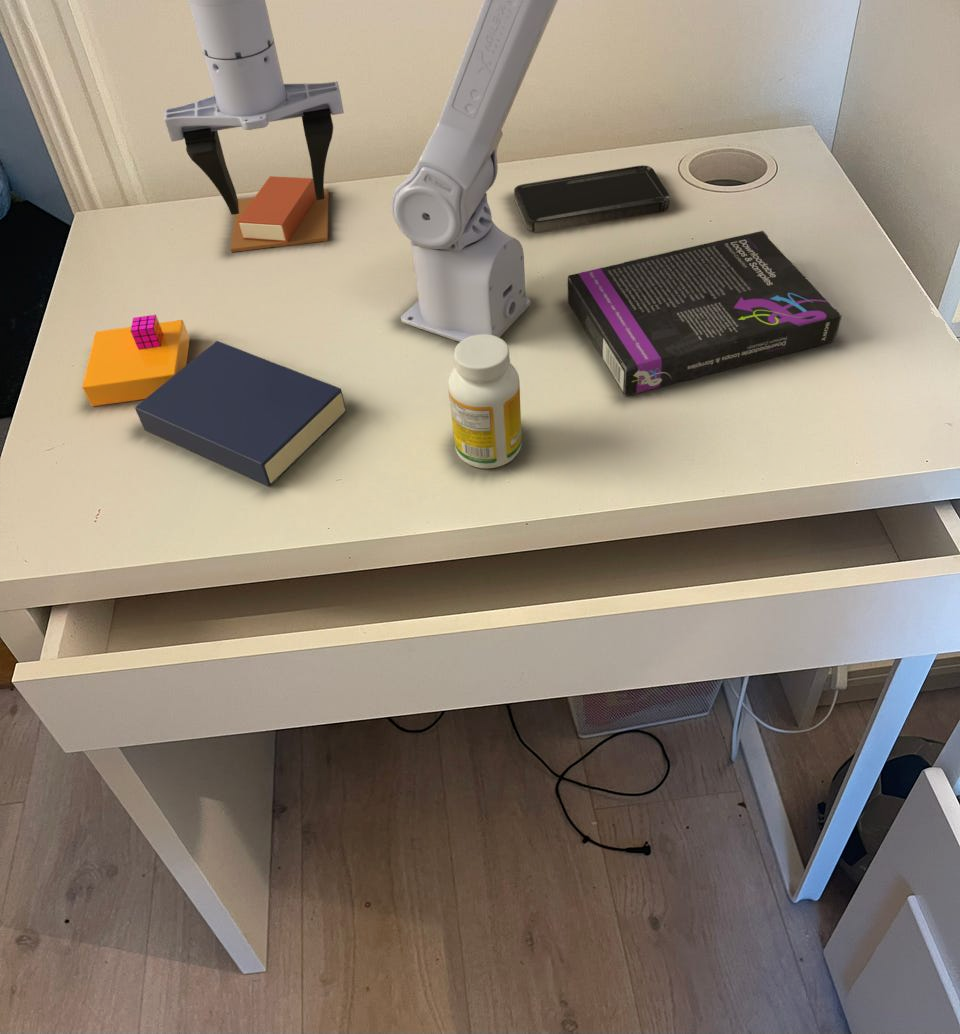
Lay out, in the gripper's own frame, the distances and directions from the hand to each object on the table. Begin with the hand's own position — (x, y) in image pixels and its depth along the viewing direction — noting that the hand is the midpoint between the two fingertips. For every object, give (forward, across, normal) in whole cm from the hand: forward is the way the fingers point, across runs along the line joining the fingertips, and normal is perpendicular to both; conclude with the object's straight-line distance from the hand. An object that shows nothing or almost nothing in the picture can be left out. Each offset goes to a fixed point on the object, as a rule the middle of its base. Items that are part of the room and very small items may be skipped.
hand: (277, 201), depth 86 cm
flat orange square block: (+10, -15, -8) cm, 20 cm away
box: (+10, +34, -16) cm, 39 cm away
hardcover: (+9, -6, -18) cm, 21 cm away
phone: (+9, +31, +6) cm, 33 cm away
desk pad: (+9, -1, +13) cm, 16 cm away
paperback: (+9, -1, +13) cm, 16 cm away
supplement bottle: (+10, +13, -27) cm, 31 cm away
